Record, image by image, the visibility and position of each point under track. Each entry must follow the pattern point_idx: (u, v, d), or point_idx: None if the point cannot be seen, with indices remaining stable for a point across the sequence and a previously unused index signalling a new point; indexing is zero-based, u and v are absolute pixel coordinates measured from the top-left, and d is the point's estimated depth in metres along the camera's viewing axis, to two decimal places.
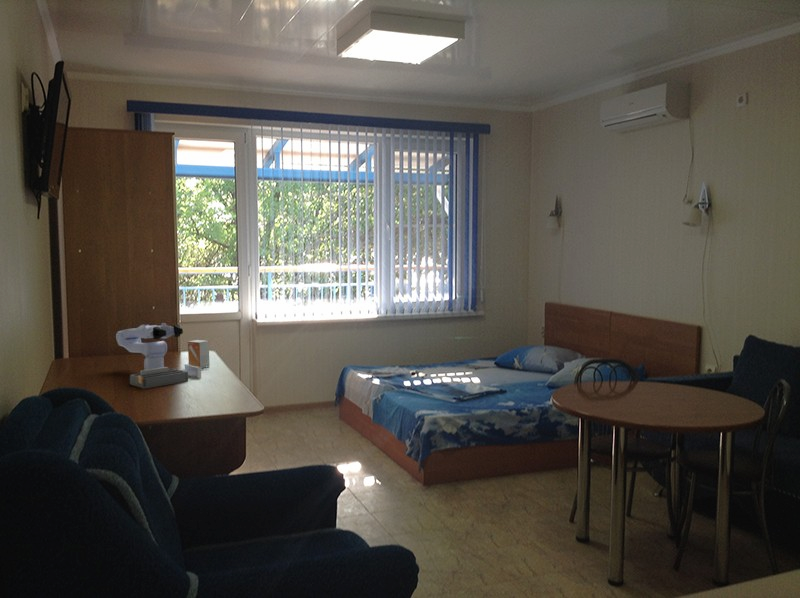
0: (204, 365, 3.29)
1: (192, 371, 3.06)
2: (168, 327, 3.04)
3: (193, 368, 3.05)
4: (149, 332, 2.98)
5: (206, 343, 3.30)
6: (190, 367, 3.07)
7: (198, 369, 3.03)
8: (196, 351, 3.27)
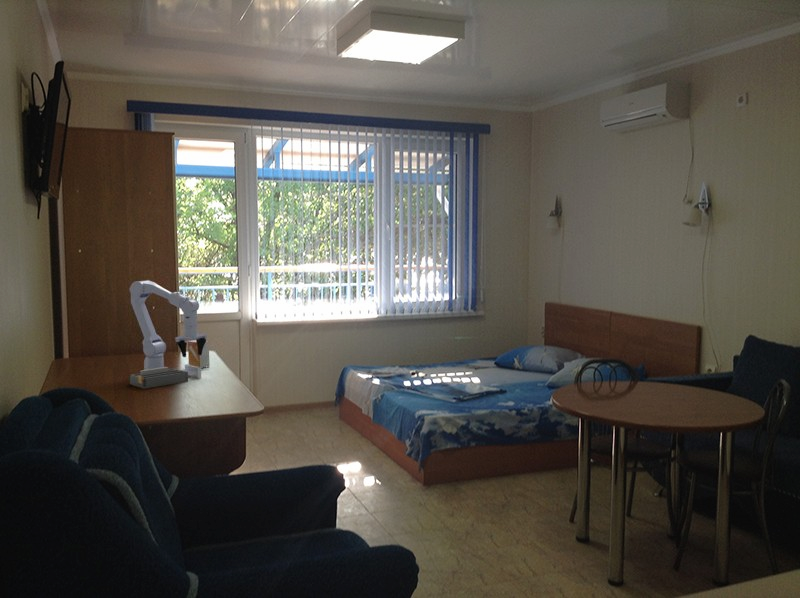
0: (204, 365, 3.29)
1: (192, 371, 3.06)
2: None
3: (193, 368, 3.05)
4: (177, 340, 3.01)
5: (206, 343, 3.30)
6: (190, 367, 3.07)
7: (198, 369, 3.03)
8: (196, 351, 3.27)
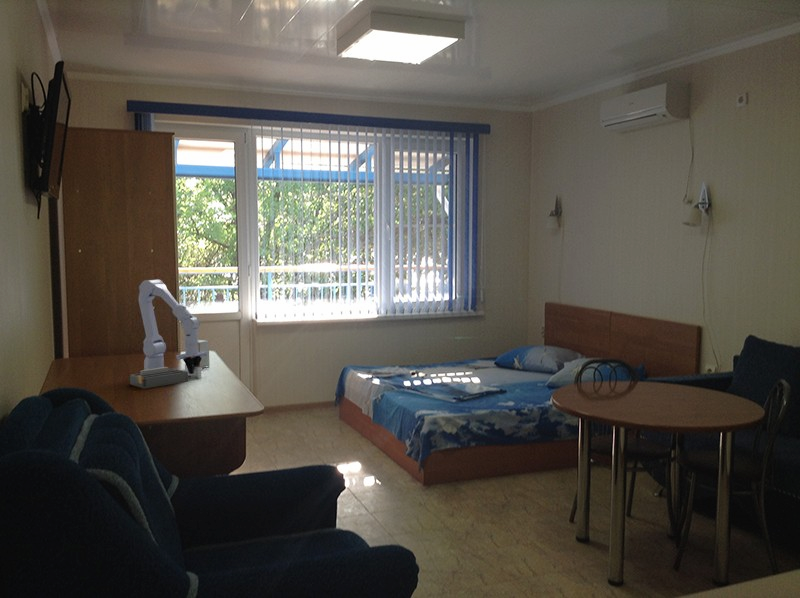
0: (204, 365, 3.29)
1: None
2: (197, 354, 3.07)
3: (193, 368, 3.05)
4: (177, 357, 3.02)
5: (206, 343, 3.30)
6: None
7: (198, 369, 3.03)
8: None
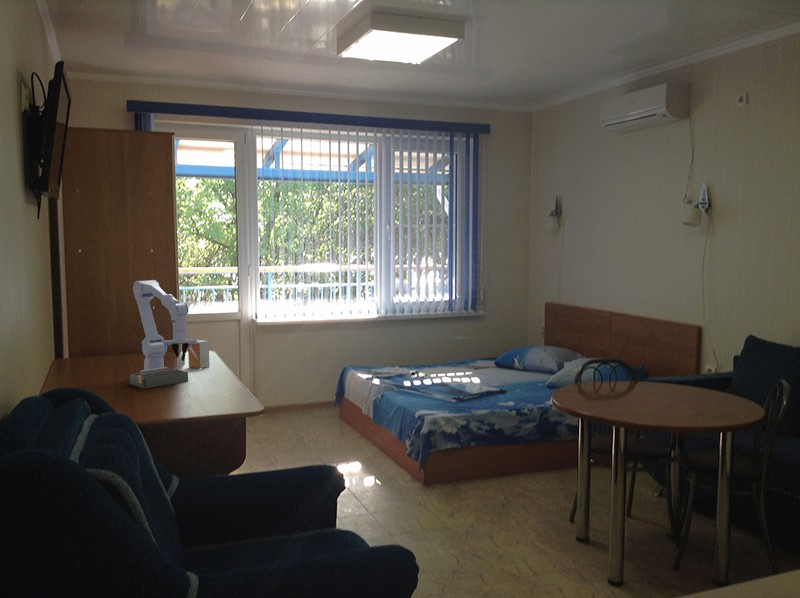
0: (204, 365, 3.29)
1: None
2: (184, 342, 2.98)
3: None
4: (162, 343, 2.98)
5: (206, 343, 3.30)
6: (179, 356, 3.01)
7: (178, 359, 2.94)
8: (196, 351, 3.27)
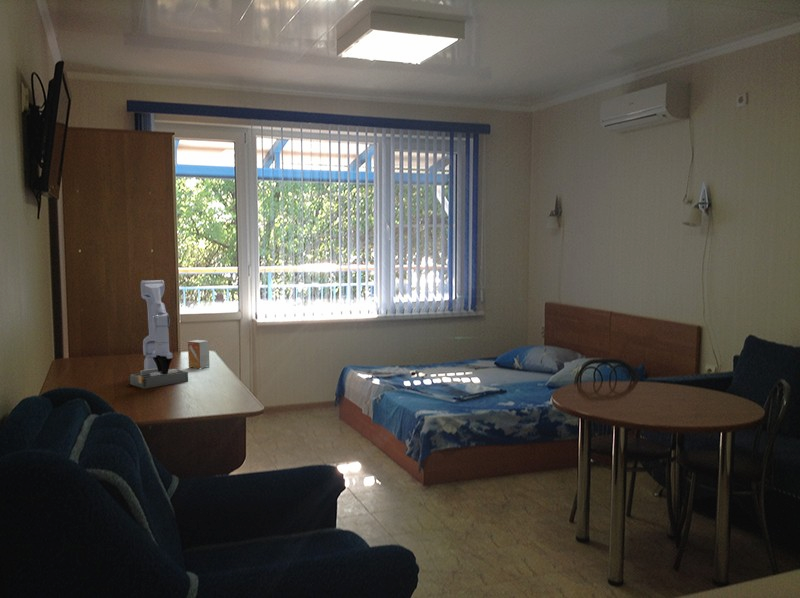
0: (204, 365, 3.29)
1: None
2: None
3: None
4: (153, 353, 2.95)
5: (206, 343, 3.30)
6: None
7: (149, 375, 2.87)
8: (196, 351, 3.27)
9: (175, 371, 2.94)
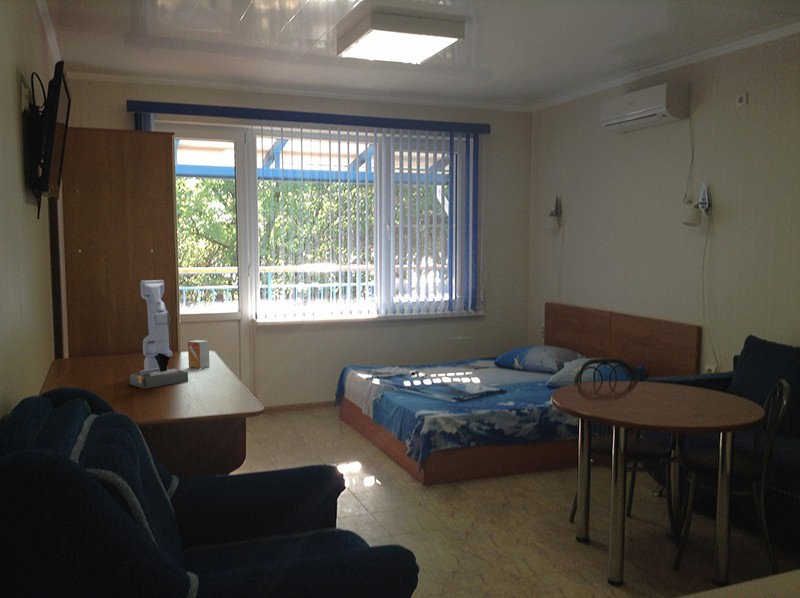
0: (204, 365, 3.29)
1: None
2: None
3: None
4: (153, 351, 2.95)
5: (206, 343, 3.30)
6: None
7: (149, 375, 2.87)
8: (196, 351, 3.27)
9: (175, 371, 2.94)
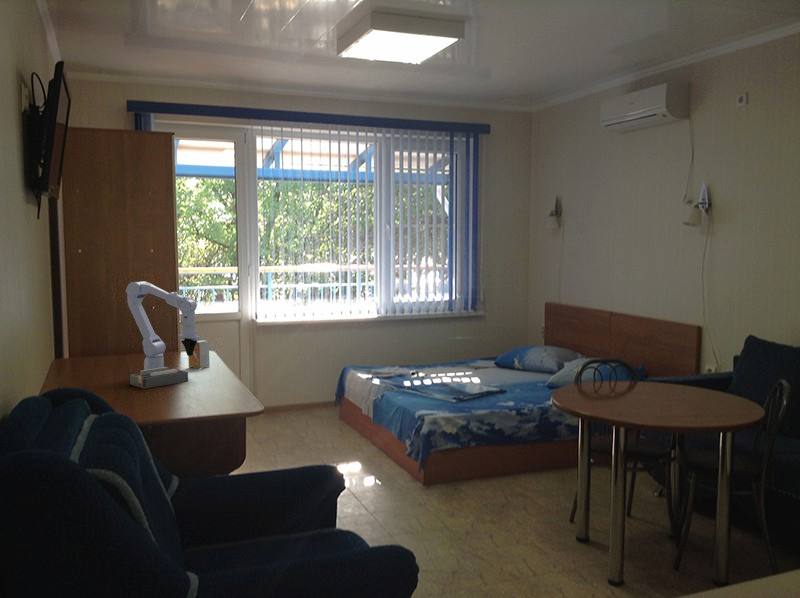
0: (204, 365, 3.29)
1: None
2: None
3: None
4: (179, 336, 3.12)
5: (206, 343, 3.30)
6: None
7: (149, 375, 2.87)
8: (196, 351, 3.27)
9: (175, 371, 2.94)
